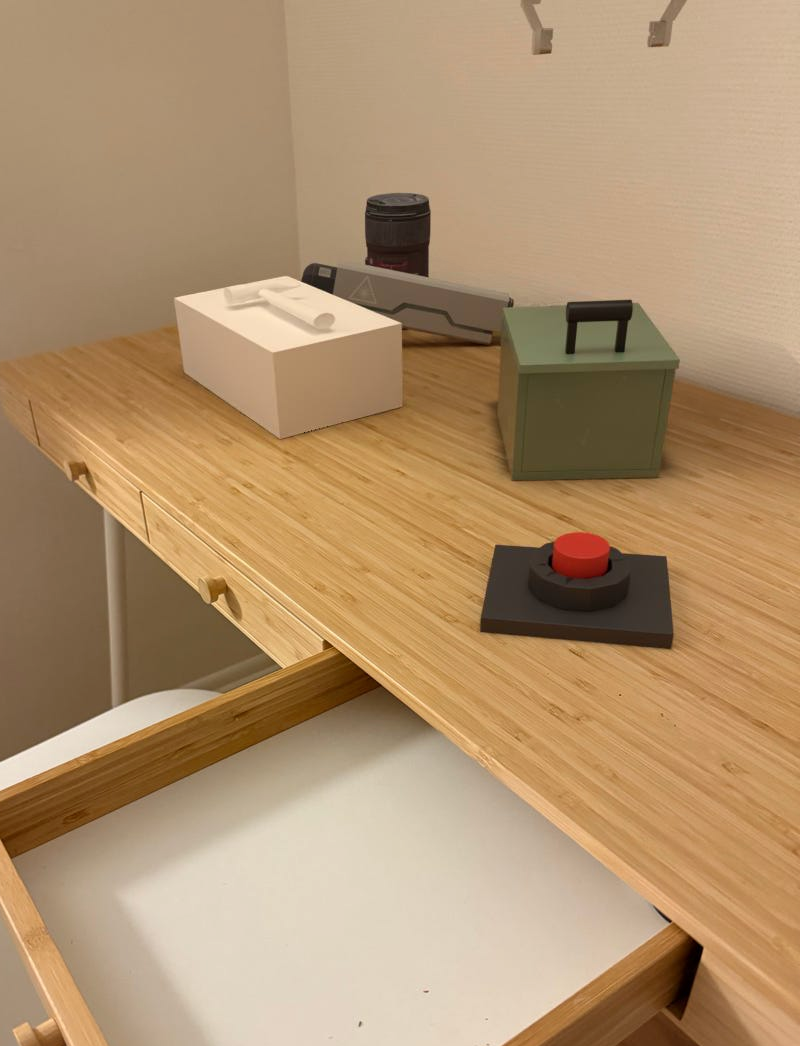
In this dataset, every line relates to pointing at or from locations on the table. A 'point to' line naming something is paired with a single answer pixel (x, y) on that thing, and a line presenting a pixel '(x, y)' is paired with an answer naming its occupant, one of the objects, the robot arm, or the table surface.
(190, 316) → the white rectangular box
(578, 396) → the green box
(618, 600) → the button box
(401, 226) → the camera lens
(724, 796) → the table surface
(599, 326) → the box lid
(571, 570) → the button
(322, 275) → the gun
